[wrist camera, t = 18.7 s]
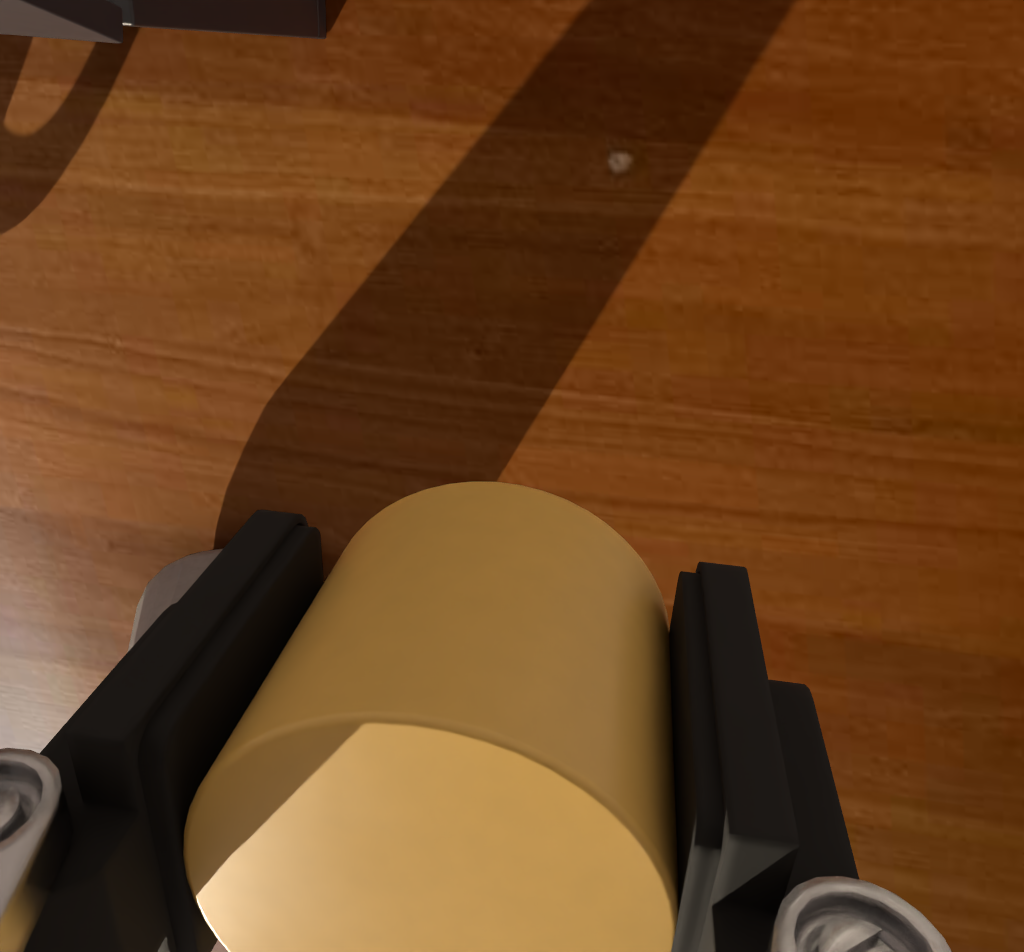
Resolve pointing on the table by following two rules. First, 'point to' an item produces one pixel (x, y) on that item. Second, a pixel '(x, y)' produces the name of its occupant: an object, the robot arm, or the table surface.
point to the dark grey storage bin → (229, 16)
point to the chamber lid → (63, 19)
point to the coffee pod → (454, 746)
